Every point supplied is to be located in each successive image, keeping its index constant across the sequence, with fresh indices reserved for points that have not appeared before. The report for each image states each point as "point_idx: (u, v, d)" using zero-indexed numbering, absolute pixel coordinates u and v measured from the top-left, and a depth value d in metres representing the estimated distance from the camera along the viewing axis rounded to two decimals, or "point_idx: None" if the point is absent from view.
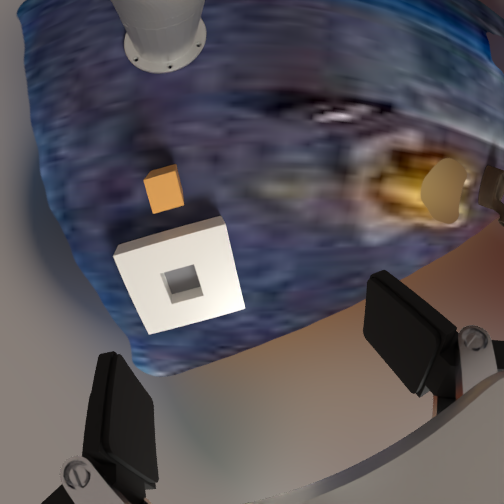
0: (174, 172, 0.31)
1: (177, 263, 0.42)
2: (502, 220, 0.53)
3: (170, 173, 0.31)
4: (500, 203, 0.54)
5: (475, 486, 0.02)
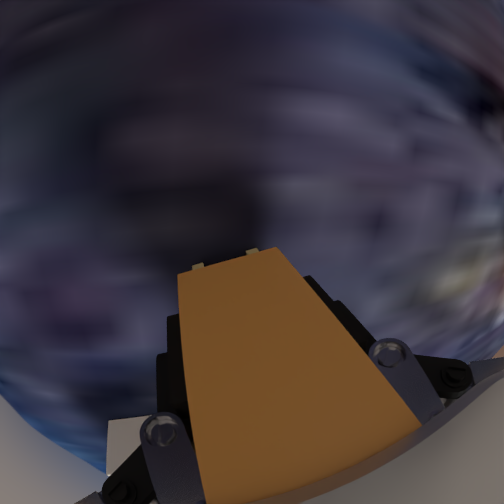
0: None
1: None
2: None
3: None
4: None
5: (475, 486, 0.02)
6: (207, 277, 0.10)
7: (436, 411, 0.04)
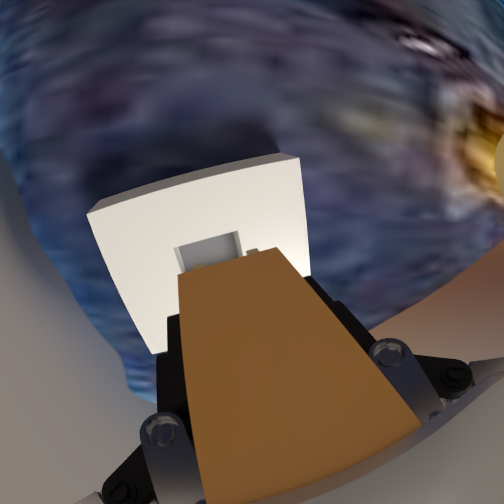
0: None
1: (207, 228, 0.23)
2: None
3: None
4: None
5: (475, 486, 0.02)
6: (207, 277, 0.10)
7: (436, 411, 0.04)
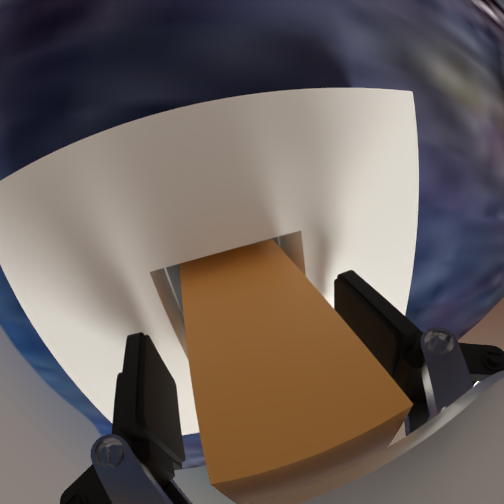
0: (405, 411, 0.04)
1: (232, 224, 0.09)
2: None
3: (385, 423, 0.04)
4: None
5: (475, 486, 0.02)
6: (207, 265, 0.11)
7: None
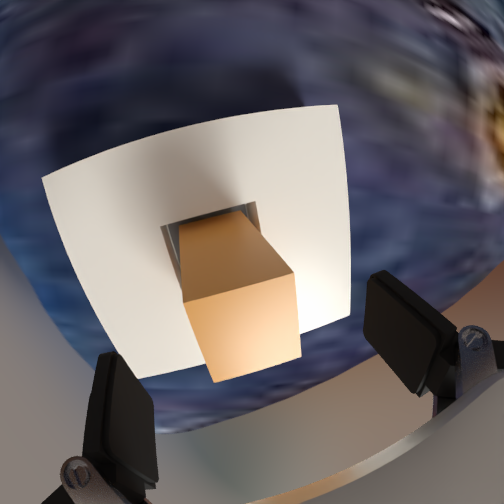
0: (290, 277, 0.10)
1: (211, 196, 0.15)
2: None
3: (277, 281, 0.10)
4: None
5: (475, 486, 0.02)
6: (196, 225, 0.16)
7: None
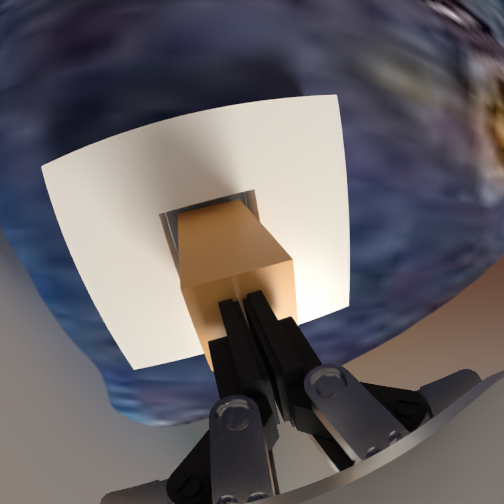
0: (289, 264, 0.10)
1: (209, 184, 0.15)
2: None
3: (275, 267, 0.10)
4: None
5: (475, 486, 0.02)
6: (195, 213, 0.16)
7: (367, 453, 0.04)
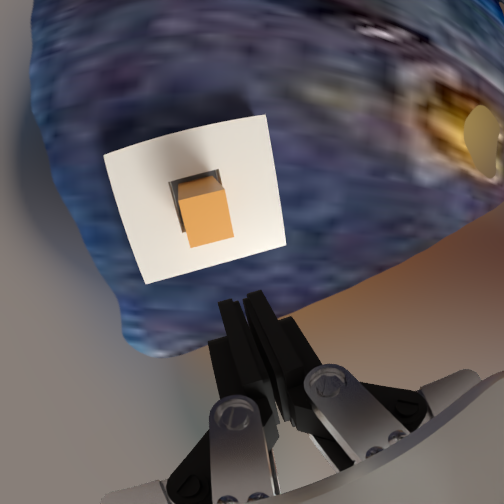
0: (223, 191, 0.23)
1: (195, 166, 0.28)
2: None
3: (217, 192, 0.23)
4: None
5: (475, 486, 0.02)
6: (187, 182, 0.29)
7: (368, 453, 0.04)
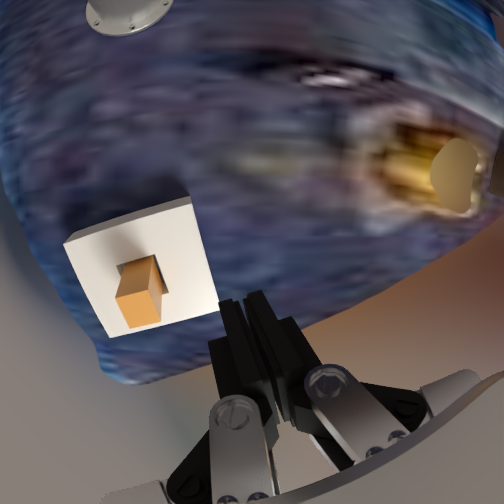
0: (146, 291, 0.28)
1: (135, 252, 0.33)
2: None
3: (142, 292, 0.28)
4: None
5: (475, 486, 0.02)
6: (132, 263, 0.34)
7: (367, 453, 0.04)
